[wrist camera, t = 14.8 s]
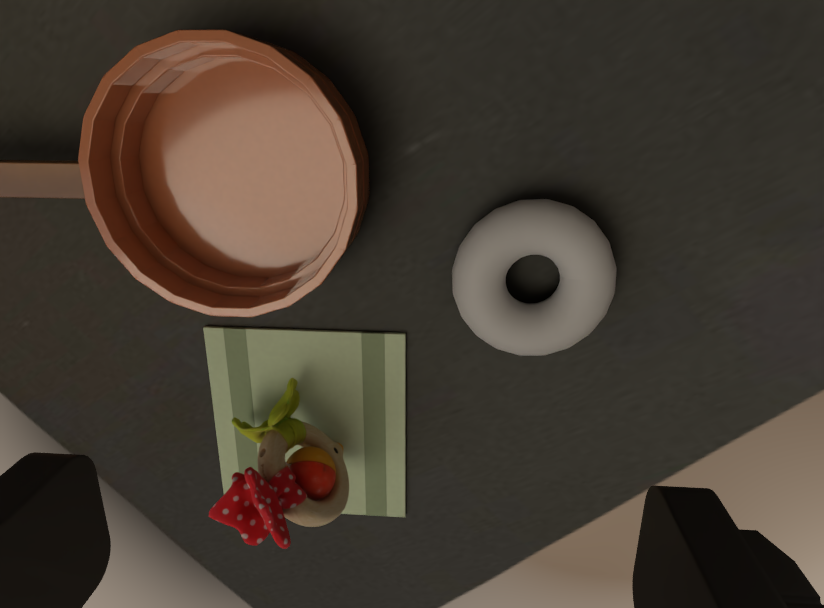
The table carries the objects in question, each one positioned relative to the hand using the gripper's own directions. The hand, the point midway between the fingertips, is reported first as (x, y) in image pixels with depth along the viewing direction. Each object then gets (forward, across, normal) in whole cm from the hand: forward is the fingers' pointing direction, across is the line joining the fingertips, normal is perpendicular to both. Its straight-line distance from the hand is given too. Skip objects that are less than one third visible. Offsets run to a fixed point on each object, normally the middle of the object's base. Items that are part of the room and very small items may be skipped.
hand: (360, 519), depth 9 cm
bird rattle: (+30, +9, +17) cm, 36 cm away
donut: (+30, -6, +5) cm, 31 cm away
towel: (+30, +9, +17) cm, 36 cm away
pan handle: (+27, +25, -1) cm, 37 cm away
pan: (+30, +12, -1) cm, 32 cm away
